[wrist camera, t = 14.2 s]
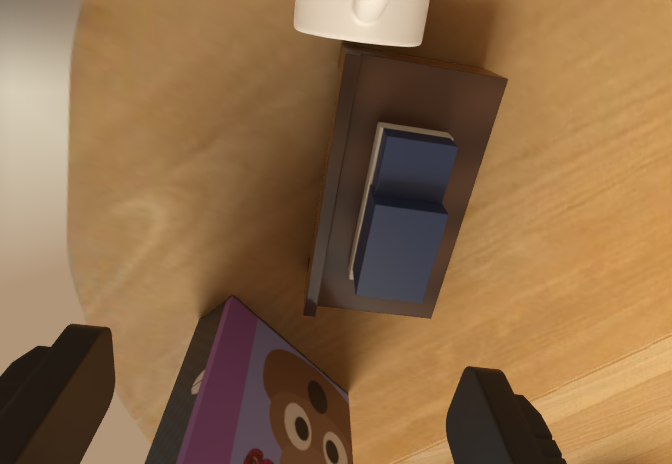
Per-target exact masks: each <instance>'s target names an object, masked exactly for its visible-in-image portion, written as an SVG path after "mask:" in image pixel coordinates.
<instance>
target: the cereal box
mask: <svg viewBox="0 0 672 464" xmlns="http://www.w3.org/2000/svg"><path fill="white" fill-rule="evenodd" d="M145 464H353V456H352V441H351V427H350V413H349V398H348V393H347V392H346V391H344V390H343V389H342V388H341V387H340V386H339V385H337V384H336V383H335V382H334V381H333V380H332V379H330V378H329V377H328V376H327V375H326V374H325V373H323V372H322V371H321V370H320V369H319V368H318V367H316V366H315V365H314V364H313V363H312V362H311V361H309V360H308V359H307V358H306V357H305V356H304V355H302V354H301V353H300V352H299V351H298V350H297V349H295V348H294V347H293V346H292V345H291V344H290V343H289V342H287V341H286V340H285V339H284V338H283V337H282V336H280V335H279V334H278V333H277V332H276V331H275V330H273V329H272V328H271V327H270V326H269V325H268V324H266V323H265V322H264V321H263V320H262V319H261V318H259V317H258V316H257V315H256V314H255V313H254V312H252V311H251V310H250V309H249V308H248V307H247V306H245V305H244V304H243V303H242V302H241V301H240V300H238V299H237V298H236V297H235V296H234V295H232V296H231V297H229V298H228V299H227V300H225V301H224V302H223V303H221V304H220V305H219V306H218V307H216V308H215V309H214V310H212V311H211V312H210V313H208V314H207V315H206V316H205V317H203V318H202V319H201V320H199V321H198V324H197V327H196V329H195V332H194V335H193V337H192V340H191V342H190V345H189V348H188V350H187V353H186V356H185V358H184V361H183V364H182V366H181V369H180V372H179V374H178V377H177V379H176V382H175V385H174V387H173V390H172V393H171V395H170V398H169V401H168V403H167V406H166V409H165V411H164V414H163V416H162V419H161V422H160V424H159V427H158V430H157V432H156V435H155V438H154V440H153V443H152V446H151V448H150V451H149V454H148V456H147V459H146V461H145Z"/></svg>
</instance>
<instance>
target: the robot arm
mask: <svg viewBox="0 0 672 464" xmlns="http://www.w3.org/2000/svg"><path fill="white" fill-rule="evenodd" d="M114 388H115V369H114V356H113V344H112V333H111V330H110V329H109V328H108V327H100V326H90V325H80V324H70V325H68V326H67V327H66V329H64V331H63V332H62V333H61V335H60V336H59V337H58V339H57V340H56V341H55V343H54V344H53V345H52V346H51V347H46V346H37V347H35V348H34V349H32V350H31V351H29V352H28V353H26V354H25V355H23V356H21V357H20V358H18V359H17V360H16V361H14V362H12V363H11V365H10V366H9V367H8V368H7V369H6V370H5V372H4V373H3V374H2V375H1V376H0V464H80V462H81V460H82V458H83V456H84V454H85V452H86V450H87V448H88V446H89V445H90V443H91V441H92V439H93V437H94V435H95V433H96V431H97V429H98V427H99V425H100V423H101V422H102V419H103V418H104V416H105V414H106V412H107V410H108V408H109V405H110V403H111V400H112V397H113V392H114ZM446 433H447V439H448V443H449V446H450V450H451V453H452V457H453V460H454V464H567V463H566V461H565V459H562V456H561V455H562V453H561V452H560V450H559V448H558V446H557V444H556V442H555V440H552V435H551V433H550V431H549V429H548V427H547V425H546V423H545V421H544V419H543V417H542V416H541V414H540V413H539V412H538V411H537V410H536V409H535V408H534V407H533V406H532V404H531V403H530V402H529V401H528V400H527V399H526V398H525V397H524V396H523V395H517V394H514V393H513V391H512V389H511V387H510V385H509V382H508V380H507V378H506V376H505V375H504V373H503V372H502V371H501V370H499V369H489V368H480V367H470V366H468V367H466V368H465V370H464V371H463V374H462V376H461V379H460V381H459V384H458V386H457V389H456V392H455V394H454V397H453V399H452V402H451V404H450V407H449V410H448V413H447V418H446Z"/></svg>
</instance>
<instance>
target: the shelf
mask: <svg viewBox="0 0 672 464" xmlns="http://www.w3.org/2000/svg"><path fill="white" fill-rule="evenodd" d="M338 68H339V72H340V73H339V80H338V86H337V92H336V98H335V105H334V111H333V117H332V124H331V130H330V136H329V143H328V149H327V155H326V161H325V168H324V174H323V180H322V187H321V193H320V199H319V206H318V212H317V218H316V224H315V231H314V237H313V243H312V250H311V256H310V258H308V261H307V267H306V277H305V295H304V313H303V314H304V315H305V316H314V317H315V316H316V311H317V306H324V307H333V308H342V309H351V310H359V311H368V312H377V313H386V314H394V315H403V316H412V317H420V318H429V319H431V317H432V314H433V311H434V308H435V305H436V301H437V298H438V295H439V292H440V289H441V286H442V283H443V280H444V277H445V274H446V270H447V267H448V264H449V261H450V258H451V255H452V252H453V249H454V246H455V242H456V239H457V236H458V233H459V230H460V227H461V224H462V221H463V218H464V214H465V211H466V208H467V205H468V202H469V199H470V196H471V193H472V190H473V187H474V183H475V180H476V177H477V174H478V171H479V168H480V165H481V162H482V159H483V155H484V152H485V149H486V146H487V143H488V140H489V137H490V134H491V131H492V127H493V124H494V121H495V118H496V115H497V112H498V109H499V106H500V103H501V100H502V96H503V93H504V90H505V87H506V84H507V81H508V79H507V78H504V77H502V76H500V75H498V74H495V73H493V72H491V71H488V70H486V69H484V68H478V67H472V66H466V65H461V64H455V63H449V62H443V61H438V60H432V59H426V58H420V57H415V56H409V55H403V54H397V53H392V52H386V51H380V50H374V49H369V48H363V47H357V46H351V45H346V44H341V50H340V56H339V62H338ZM378 122H384V123H390V124H396V125H403V126H409V127H415V128H422V129H428V130H435V131H441V132H447V133H449V134H450V135H451V137H452V138H453V141H454V142H455V143H456V144H457V146H458V147H459V148H458V151H457V155H456V158H455V161H454V165H453V168H452V172H451V175H450V179H449V182H448V185H447V189H446V192H445V196H444V199H443V202H442V204H443V205H444V207H445V209H446V210H447V212H448V214H449V216H448V219H447V223H446V226H445V229H444V232H443V236H442V239H441V242H440V246H439V249H438V252H437V255H436V259H435V262H434V265H433V269H432V272H431V275H430V278H429V282H428V285H427V288H426V292H425V295H424V298H423V302H422V303H417V302H409V301H400V300H392V299H383V298H375V297H366V296H357V295H355V286H354V280H351V279H349V275H348V266H349V261H350V256H351V251H352V247H353V242H354V237H355V232H356V227H357V222H358V217H359V212H360V207H361V202H362V198H363V193H364V188H365V183H366V178H367V173H368V168H369V163H370V158H371V154H372V149H373V144H374V139H375V134H376V129H377V124H378Z"/></svg>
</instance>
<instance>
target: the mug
mask: <svg viewBox="0 0 672 464" xmlns="http://www.w3.org/2000/svg"><path fill="white" fill-rule="evenodd" d="M429 2H430V0H295V12H294V28H295V29H296V30H297V31H300V32H303V33H307V34H311V35H316V36H321V37H327V38H333V39H339V40H346V41H353V42H360V43H368V44H377V45H388V46H401V47H416V46H419V45H420V44H421V43H422V39H423V34H424V28H425V23H426V18H427V12H428V7H429Z"/></svg>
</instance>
